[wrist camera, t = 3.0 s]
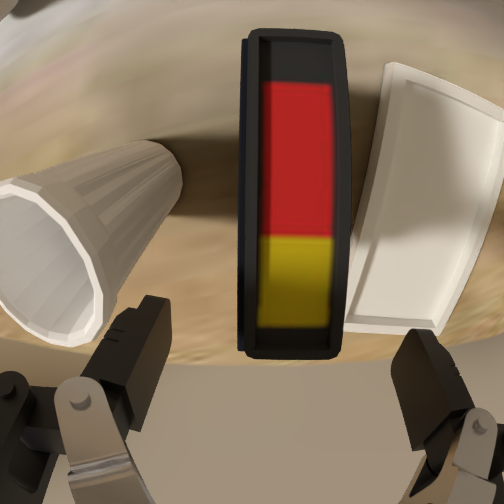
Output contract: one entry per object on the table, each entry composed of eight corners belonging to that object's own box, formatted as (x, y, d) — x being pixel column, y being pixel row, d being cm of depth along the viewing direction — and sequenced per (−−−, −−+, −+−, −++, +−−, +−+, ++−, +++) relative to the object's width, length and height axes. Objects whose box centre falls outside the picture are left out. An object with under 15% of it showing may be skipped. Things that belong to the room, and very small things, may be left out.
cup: (170, 242, 25) (92, 374, 12) (91, 198, 24) (-25, 291, 11) (214, 157, 22) (133, 246, 9) (123, 111, 20) (-25, 148, 7)
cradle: (384, 64, 17) (394, 61, 16) (502, 113, 17) (515, 116, 15) (327, 315, 28) (330, 330, 26) (432, 323, 28) (439, 335, 26)
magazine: (256, 273, 24) (233, 366, 10) (258, 108, 23) (239, -13, 8) (304, 274, 24) (347, 367, 9) (305, 109, 22) (345, -8, 8)
